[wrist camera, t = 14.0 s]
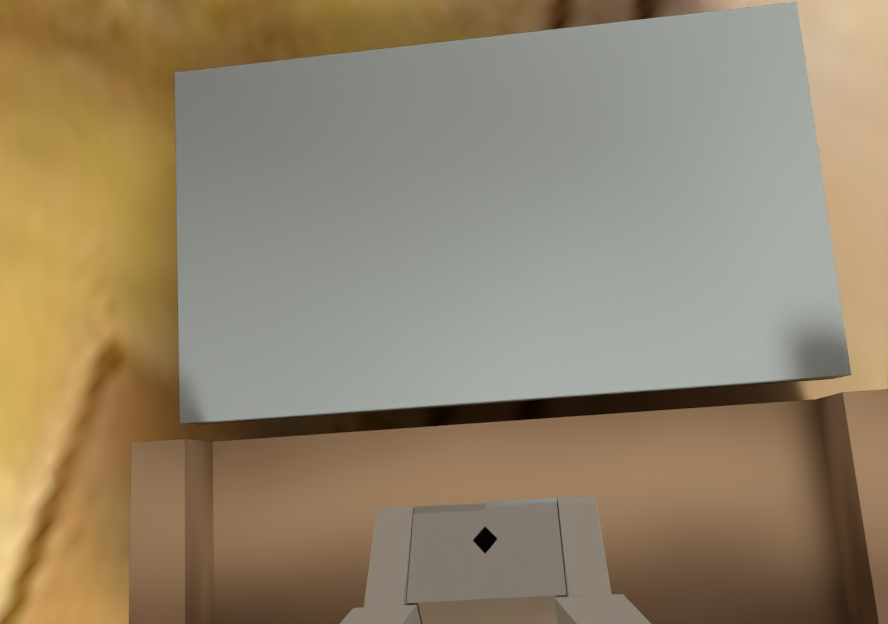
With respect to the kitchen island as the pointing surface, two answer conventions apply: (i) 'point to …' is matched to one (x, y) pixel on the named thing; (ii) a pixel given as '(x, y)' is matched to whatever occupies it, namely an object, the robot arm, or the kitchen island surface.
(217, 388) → the tailgate
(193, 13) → the kitchen island surface
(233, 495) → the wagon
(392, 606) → the robot arm
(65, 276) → the kitchen island surface
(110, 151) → the kitchen island surface
